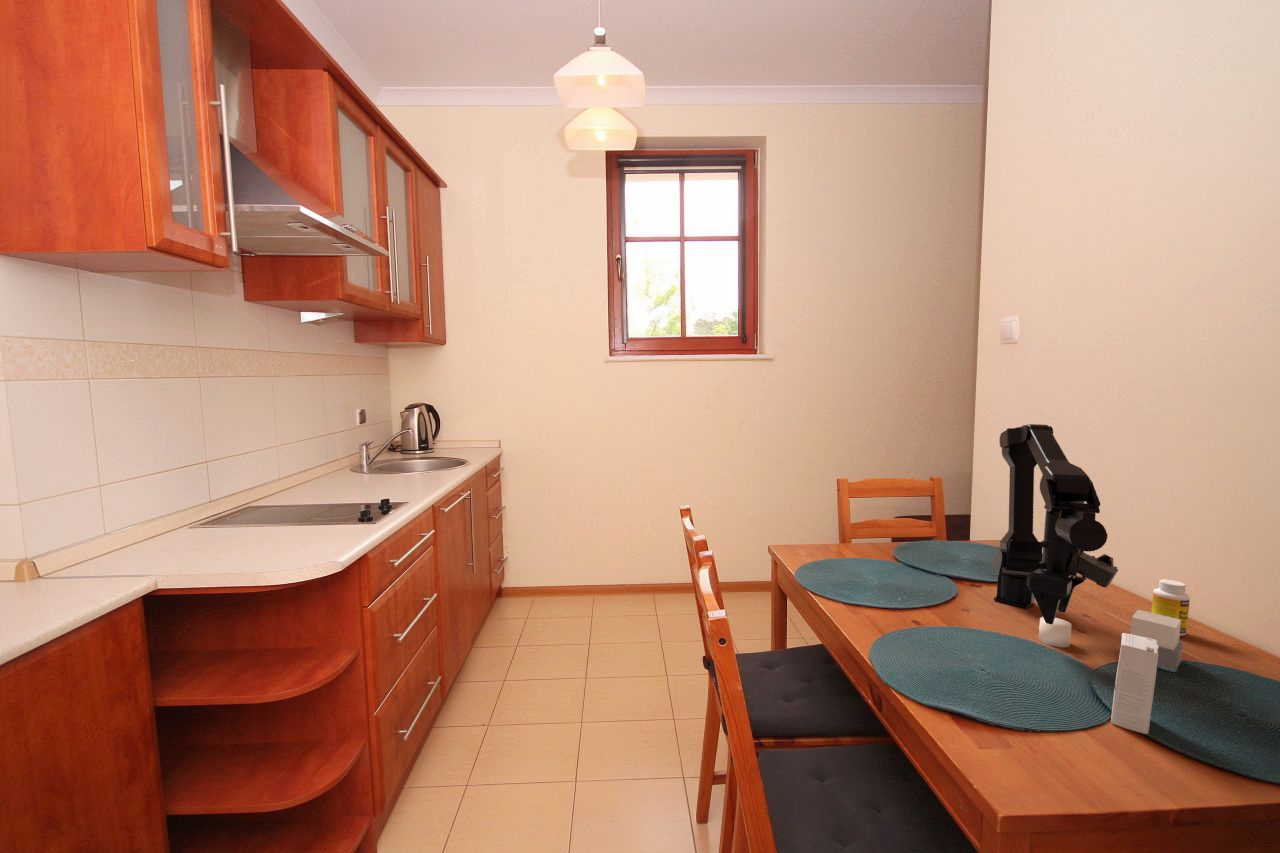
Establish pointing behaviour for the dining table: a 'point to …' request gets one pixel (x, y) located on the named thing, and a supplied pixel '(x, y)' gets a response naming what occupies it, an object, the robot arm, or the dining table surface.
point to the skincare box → (1135, 683)
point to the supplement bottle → (1172, 602)
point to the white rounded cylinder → (1055, 632)
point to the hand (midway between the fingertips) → (1055, 617)
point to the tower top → (1156, 628)
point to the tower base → (1170, 656)
